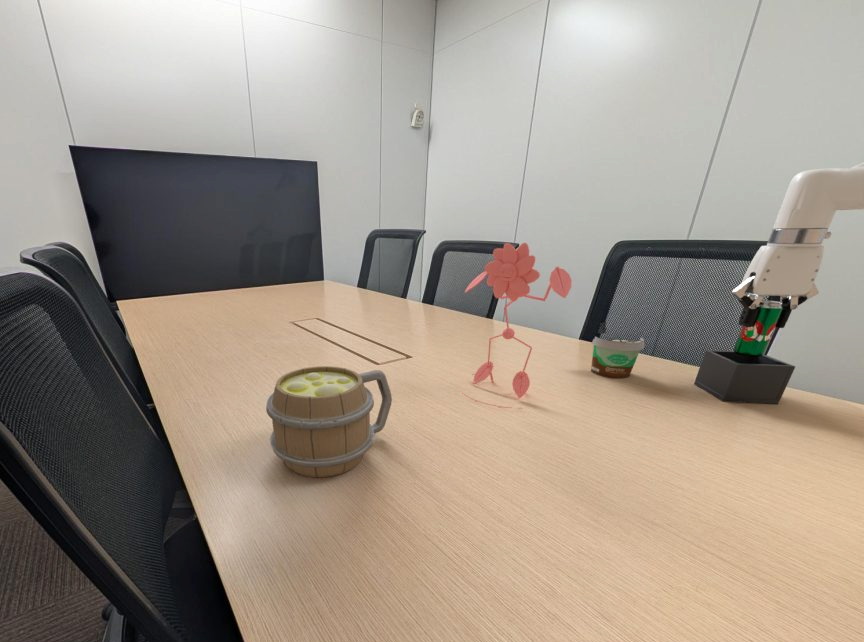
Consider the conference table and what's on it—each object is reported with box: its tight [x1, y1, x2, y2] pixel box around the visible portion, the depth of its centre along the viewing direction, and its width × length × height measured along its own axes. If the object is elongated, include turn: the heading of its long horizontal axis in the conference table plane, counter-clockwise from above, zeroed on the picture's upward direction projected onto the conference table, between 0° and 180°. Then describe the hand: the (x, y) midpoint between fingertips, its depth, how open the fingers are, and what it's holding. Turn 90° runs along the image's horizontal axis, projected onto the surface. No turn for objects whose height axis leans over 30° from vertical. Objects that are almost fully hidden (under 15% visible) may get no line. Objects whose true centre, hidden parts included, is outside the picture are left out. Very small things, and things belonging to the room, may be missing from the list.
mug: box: [265, 365, 393, 478], centre depth 68 cm, size 19×25×15 cm
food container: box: [590, 336, 645, 379], centre depth 100 cm, size 12×6×10 cm, turn 81°
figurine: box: [463, 242, 572, 410], centre depth 86 cm, size 15×26×35 cm, turn 36°
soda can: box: [732, 299, 784, 357], centre depth 83 cm, size 5×5×12 cm
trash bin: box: [694, 349, 796, 405], centre depth 87 cm, size 11×11×9 cm
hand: (760, 325), depth 83 cm, fingers closed on soda can, 5 cm apart
